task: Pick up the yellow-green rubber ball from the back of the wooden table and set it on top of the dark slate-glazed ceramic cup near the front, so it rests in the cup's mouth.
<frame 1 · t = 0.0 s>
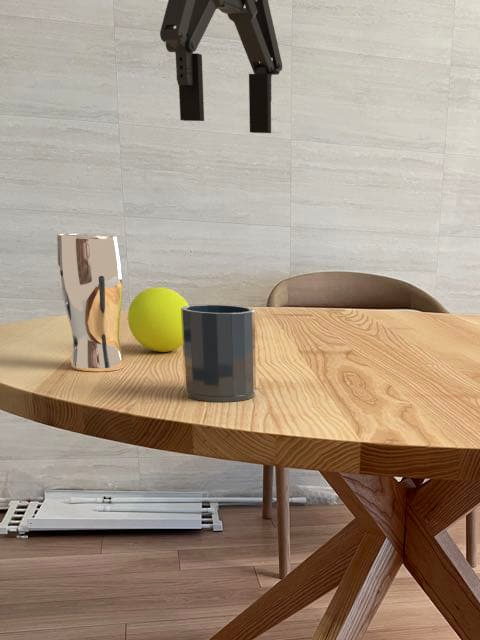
hand: (228, 127, 98), 28 cm above the table, tool pointing down, fingers open, 13 cm apart
beer glass: (98, 368, 100), on the table
ball: (162, 351, 112), on the table
cup: (220, 394, 89), on the table
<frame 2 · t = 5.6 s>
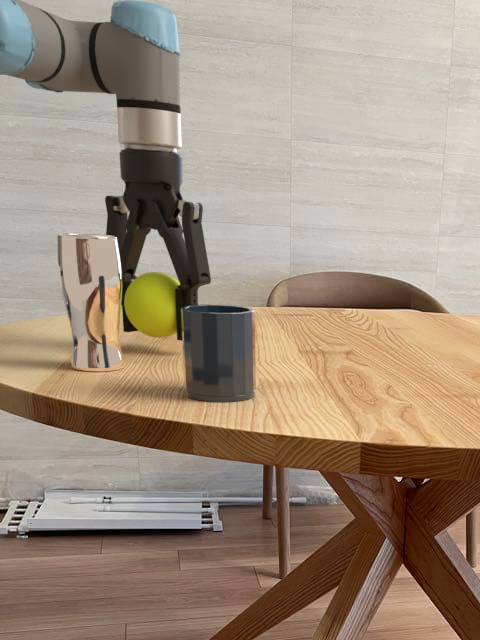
hand: (158, 334, 111), 2 cm above the table, tool pointing down, fingers closed on ball, 8 cm apart
ball: (158, 337, 111), point 2 cm above the table, touching gripper
everything else where it was.
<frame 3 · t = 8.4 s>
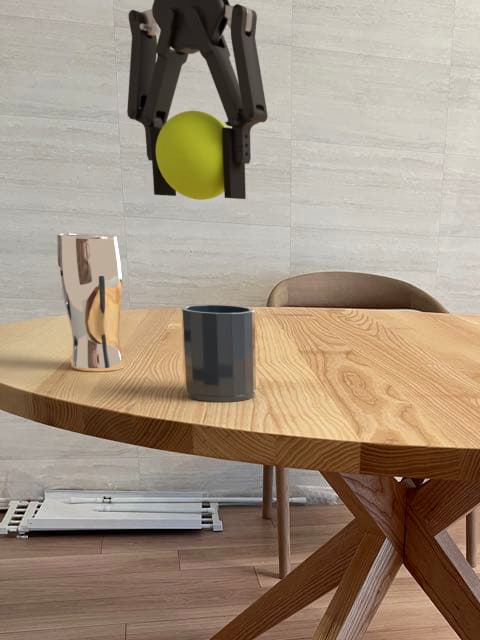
hand: (199, 196, 87), 20 cm above the table, tool pointing down, fingers closed on ball, 8 cm apart
ball: (199, 199, 87), point 19 cm above the table, touching gripper
everything else where it was.
when the fingers open (8 cm above the table, at t = 11.4 s): ball stays where it is, resting on cup.
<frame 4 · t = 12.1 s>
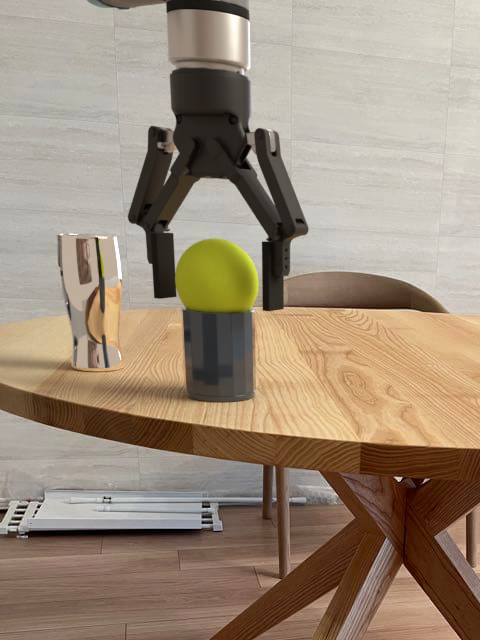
hand: (217, 304, 86), 9 cm above the table, tool pointing down, fingers open, 13 cm apart
ball: (219, 323, 87), point 8 cm above the table, touching cup
everything else where it was.
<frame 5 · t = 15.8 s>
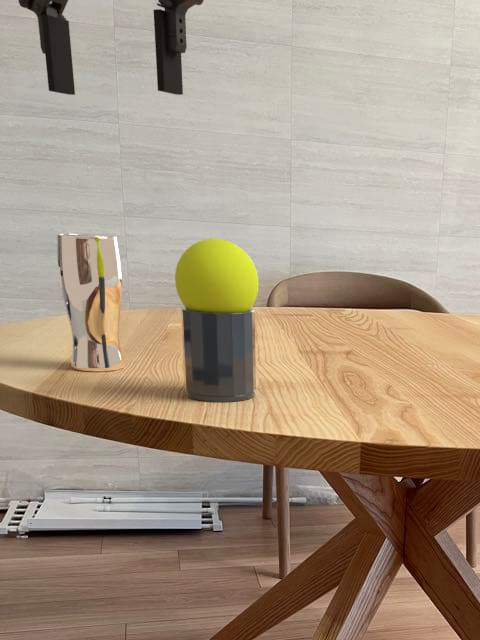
hand: (114, 93, 81), 29 cm above the table, tool pointing down, fingers open, 13 cm apart
nothing on the table moved.
at the end: ball 0.1 cm off-centre in the cup, point 7.5 cm above the cup's base; ball touching cup; the gripper is holding nothing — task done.
